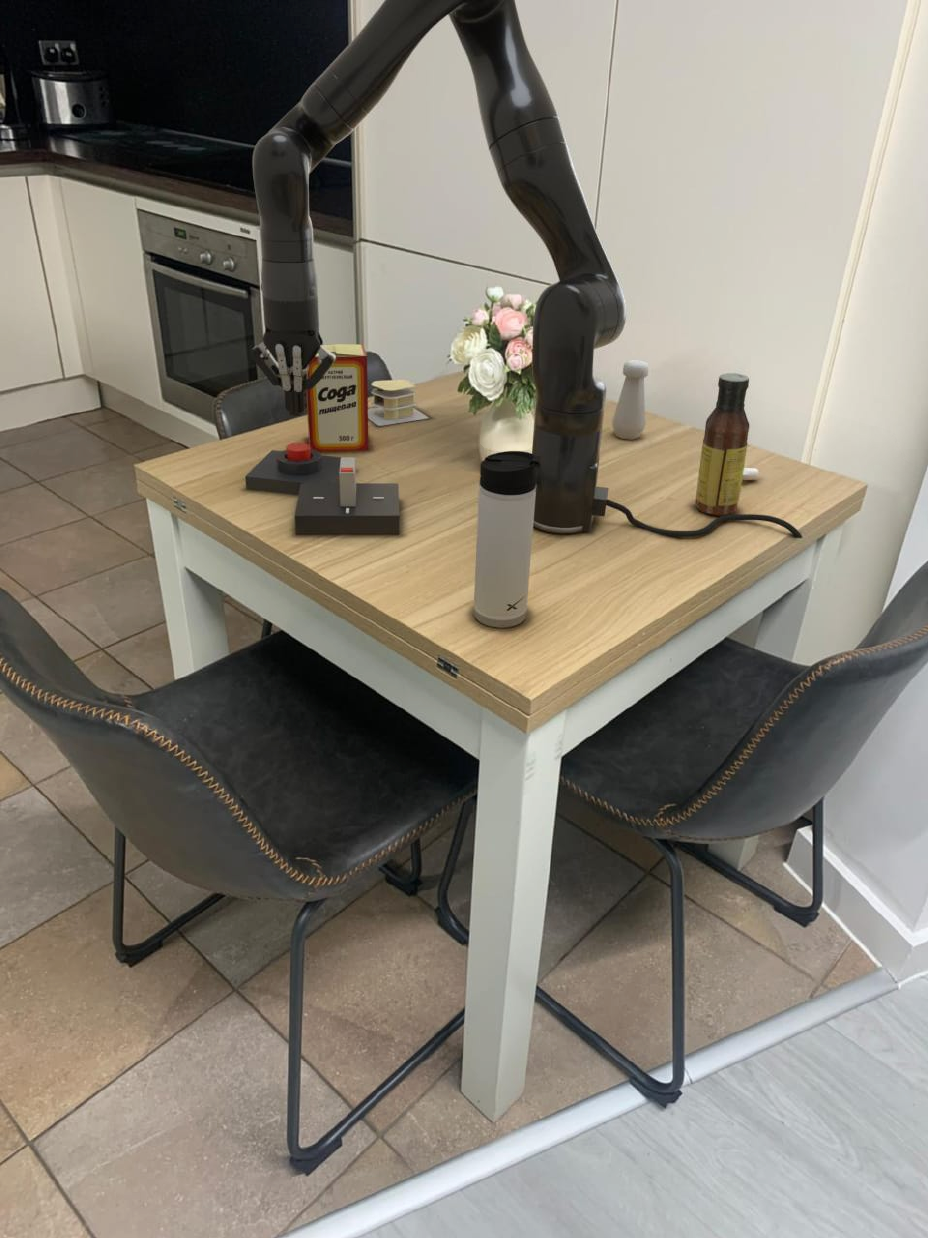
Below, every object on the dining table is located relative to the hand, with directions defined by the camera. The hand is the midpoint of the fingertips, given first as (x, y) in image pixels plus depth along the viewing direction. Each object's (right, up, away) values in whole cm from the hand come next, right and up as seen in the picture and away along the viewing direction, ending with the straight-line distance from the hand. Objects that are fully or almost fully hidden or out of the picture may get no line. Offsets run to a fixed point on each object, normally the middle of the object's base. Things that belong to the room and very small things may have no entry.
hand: (296, 414), depth 139 cm
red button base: (0, -9, +5) cm, 10 cm away
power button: (0, -6, +3) cm, 7 cm away
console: (+8, -16, -6) cm, 19 cm away
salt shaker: (+53, +2, +27) cm, 60 cm away
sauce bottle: (+62, -14, +1) cm, 63 cm away
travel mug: (+29, -30, -27) cm, 50 cm away
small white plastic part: (+69, -9, +11) cm, 70 cm away
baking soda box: (+4, -1, +19) cm, 19 cm away
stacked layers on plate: (+12, +7, +32) cm, 35 cm away
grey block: (+9, -13, -7) cm, 17 cm away
